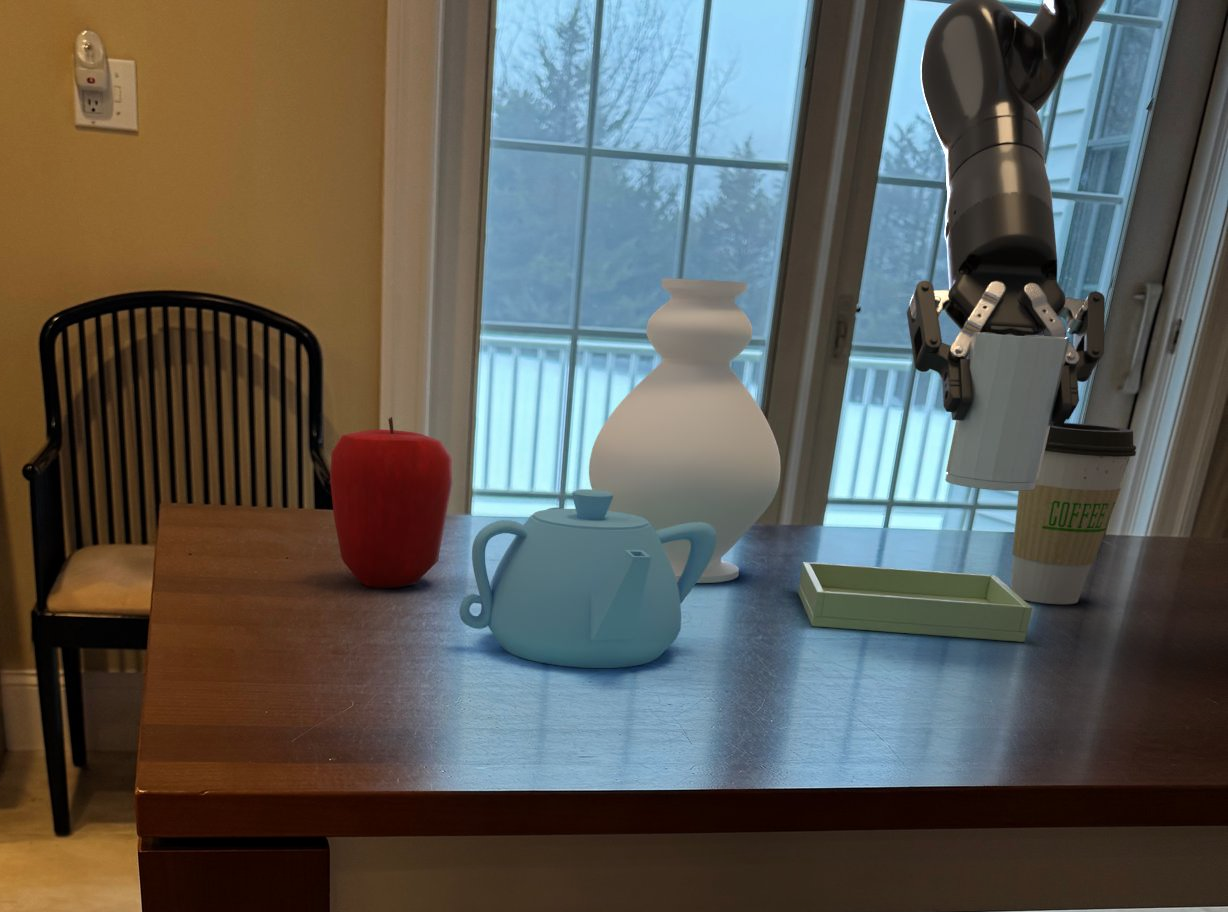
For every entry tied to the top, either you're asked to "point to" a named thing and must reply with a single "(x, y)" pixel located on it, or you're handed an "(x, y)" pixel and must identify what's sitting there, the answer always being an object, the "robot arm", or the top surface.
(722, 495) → the decorative vase
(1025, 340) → the container
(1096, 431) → the coffee cup
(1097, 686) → the top surface
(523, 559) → the teapot
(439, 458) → the apple
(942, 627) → the tray
